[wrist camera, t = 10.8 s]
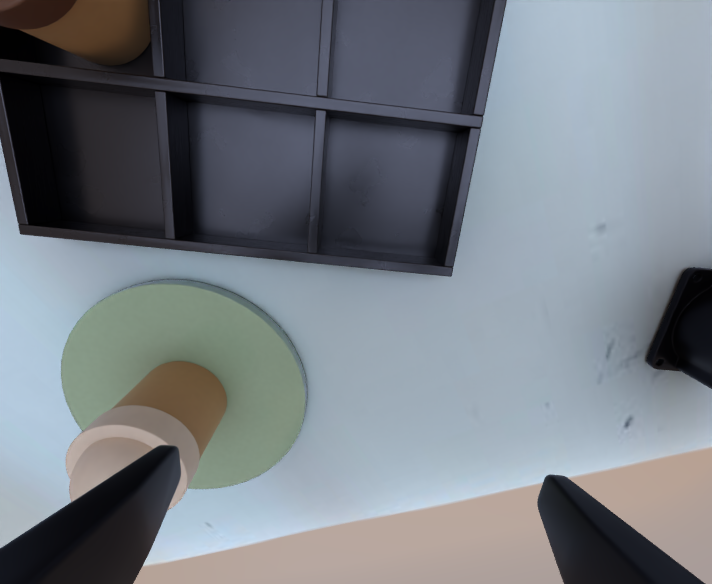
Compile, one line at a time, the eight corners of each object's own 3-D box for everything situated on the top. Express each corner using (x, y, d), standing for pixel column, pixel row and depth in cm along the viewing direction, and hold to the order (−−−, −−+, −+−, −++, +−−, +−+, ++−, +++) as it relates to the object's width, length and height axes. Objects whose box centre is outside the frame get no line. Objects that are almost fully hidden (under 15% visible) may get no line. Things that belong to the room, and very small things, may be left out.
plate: (301, 485, 25) (299, 496, 24) (90, 471, 24) (80, 481, 23) (314, 291, 20) (312, 296, 19) (52, 267, 19) (38, 271, 19)
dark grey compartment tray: (439, 265, 20) (451, 277, 17) (61, 227, 19) (19, 234, 16) (497, -46, 15) (524, -88, 13) (4, -115, 14) (-66, -174, 12)
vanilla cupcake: (230, 436, 22) (169, 565, 15) (144, 429, 22) (38, 557, 15) (229, 362, 20) (159, 466, 13) (136, 354, 20) (11, 455, 13)
